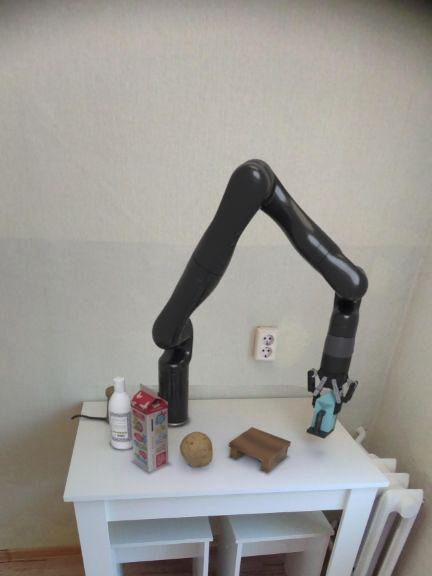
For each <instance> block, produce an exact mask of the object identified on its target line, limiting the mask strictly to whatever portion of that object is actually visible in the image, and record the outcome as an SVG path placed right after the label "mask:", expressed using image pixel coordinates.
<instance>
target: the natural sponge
mask: <svg viewBox="0 0 432 576" xmlns="http://www.w3.org/2000/svg"><path fill="white" fill-rule="evenodd" d="M213 449H214V448H213V444H212V440H211V438H210V437H209V435H207V434H206V433H203V432H202V431H201V432H200V431H193V432H190V433H188V434H187V435H185V436H184V437H183V438H182V440H181V442H180V444H179V452H180V454H181V456H182V458H183V460H184V461H185V462H186V463H187V464H188V465H189V466H191V467H193V468H200V467H203V466H208V465H210V464H211V463H212V461H213V457H214V452H213V451H214V450H213Z"/></svg>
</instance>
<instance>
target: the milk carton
mask: <svg viewBox="0 0 432 576" xmlns="http://www.w3.org/2000/svg"><path fill="white" fill-rule="evenodd" d="M139 385H140V386H139V388H140V389H139V390H138V391H137V392H136V393H135V394H134V395H133V396H132V397H130V398H131V399H130V403H131V421H132V440H133V447H132V456H133V463H134V464H135V465H138V466H139V467H140V468H142V469H143V470H144V471H146V472H147V473H151V472H153V471H155V470H157V469H160V468H162V467H164V466H167V465H168V464H169V426H168V402H167V401H166V400H164V399H162V398H160V397H158V391H156V390H154V389H152V388H150V387H148V386H147V385H144V384H142V383H140V384H139Z"/></svg>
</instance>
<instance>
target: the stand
mask: <svg viewBox="0 0 432 576" xmlns="http://www.w3.org/2000/svg"><path fill="white" fill-rule="evenodd" d="M290 447H291V441H290V440H288V439H285V438H283V437H280V436H277V435H274V434H273V433H269V432H266V431H263V430H261V429H258V428H256V427H253V426H251V427H250V428H248V429H247V430H245V431H244V432H243V433H241V434H240V435H238V436H237V437H235V438H233V439H232V440H231V441H229V442H228V448H230V451H229V458H231V459H233V460H237V459H239V458H240V457H242V456H243V455H247V456H250V457H252V458H255V459H256V460H259V461H261V469H260V471H261V472H263V473H265V474H269V472H270V471H271V470H273V469H274V468H275V467H276V466H278V465H279V464H280V463H281V462H283V461H284V460H285V459H286V458H287V457H288V451H289V448H290Z"/></svg>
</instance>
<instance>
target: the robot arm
mask: <svg viewBox="0 0 432 576" xmlns="http://www.w3.org/2000/svg"><path fill="white" fill-rule="evenodd" d="M259 211H260V212H262V213H264V214H265V215H267V216H268V217H269V218H270V219H271V220H272V221H273V222H274V223H275V224H276V225H277V226H278V228H279V229H280V230H281V231H282V232H283V234H284V236H285V238H286V239H287V240H288V241H289V243H290V245H291V246H292V248H294V250H295V251H296V253H297V254H299V256H300V257H301V258H302V259H303V260H304V261H305V263H307V264H308V265H309V266H310V267H311V268H312V269H313V270H314V271H315V272H316V273H318V274H319V275H320V276H321V277H322V278H323V279H324V280H325V282H326V283H327V284H328V286H330V288H331V289H332V290H333V291H334V296H333V306H332V309H331V310H332V311H331V315H330V317H329V322H328V328H327V333H326V336H325V338H324V342H323V343H324V344H323V348H322V353H321V359H320V364H319V368H318V369H316V368H315V367H313V368H311V369H309V370H308V371H307V376H306V377H307V392H309V393H311V394H312V401H311V406H312V408H313V409H314V408H315V403H316V399H318V398H319V397H321V396H322V394H321V393H322V391H323V390H324V388H325V389H330V390H334V395H335V396H336V401H337V402H336V403H335V407H334V412H333V415H336V414H338V415H339V413H341V411H342V406H343V403H344V404H347V403H348V402H350V401H351V400H352V398H353V395H354V394H355V392H356V389H357V387H358V385H359V381H358V380H353V379H350V377H349V371H350V367H351V363H352V358H353V354H354V352H355V344H356V337H357V331H358V327H359V322H360V310H361V309H360V308H361V304H362V300H363V298H364V297H365V295H367V294H366V293H367V291H368V290H369V279H368V276H367V273H366V271H365V270H364V269H363V267H361V266H360V265H356V264H355V263H353V261H352V260H351V259H349V258H348V257H347V256H346V255H345V254H344V252H343V251H342V249H341V247H340V246H339V245H338V244H337V243H336V241H334V240H333V239H332V237H330V236H329V235H328V234H327V233H326V232H325V231H324V230H323V229H322V228H321V227H320V226H319V224H317V223H316V222H315V220H313V218H311V217H310V216H309V215H308V214H307V212H305V210H303V208H302V207H301V206H300V205H299V204H298V203H297V201H296V200H295V199H294V198H293V197H292V195H291V194H290V193H289V191H288V190H287V189H286V188H285V186H284V185H283V183H282V182H281V180H280V179H279V177H278V176H277V174H276V173H275V172H274V170H273V168H272V167H271V166H270V164H268V163H267V162H266V161H264V160H262V159H259V158H252V159H248V160H246V161H244V162H243V163H241V164H239V165H238V166H237V167H236V168H235V169H234V170H233V172H232V173H231V174H230V177H229V179H228V182H227V184H226V187H225V190H224V192H223V195H222V197H221V200H220V201H219V205H218V207H217V210H216V212H215V214H214V216H213V218H212V220H211V222H209V225H208V226H207V228H206V229H205V231H204V232H203V234H202V236H201V238H200V239H199V240H198V242H197V244H196V245H195V248H194V250H193V251H192V253H191V256H190V257H189V259H188V261H187V263H186V265H185V267H184V270H183V271H182V274H181V275H180V277H179V279H178V281H177V283H176V285H175V287H174V289H173V291H172V293H171V295H170V297H169V298H168V300H167V302H166V304H165V305H164V307H163V308H162V309H161V311H160V313H159V314H158V315H157V316H156V319H155V320H154V322H153V324H152V328H151V337H152V338H151V339H152V341H153V343H154V345H155V346H156V347H157V348H158V349H160V350H163V352H162V354H160V356H159V358H158V361H157V381H158V390H157V392H158V397H160V398H162V399H164V400H166V401H167V402H168V427H174V428H175V427H181V426H185V425H186V424H187V423H188V422H189V393H190V392H189V391H190V390H189V389H190V387H189V386H190V385H189V384H190V363H191V361H192V358H193V349H194V325H193V322H192V320H191V316H192V315H193V314H194V312H195V311H196V310H197V309H198V308H199V307H200V306H201V305H202V304H203V303H204V302H205V301H206V300H207V299H208V298H209V297H210V296H211V294H213V293H214V291H215V290H216V288H218V285H219V284H220V282H221V280H223V279H222V278H223V277H224V275H225V274H226V272H227V270H228V268H229V265H230V263H231V262H232V258H233V256H234V253H235V250H236V247H237V245H238V242H239V240H240V238H241V236H242V234H243V233H244V231H245V230H246V228H247V227H248V226H249V224H250V222H251V221H252V220H253V218H254V217H255V216H256V214H258V212H259ZM317 377H318V379H319V383H318V384H317V386H316V378H317ZM345 384H346V387H347V391H346V393H345V394H344V391H345V389H344V385H345ZM76 418H85V419H87V420H100V421H107V417H100V416H89V415H86V414H74V415H73V416H71V418H70V420H72V421H73V420H75V419H76Z"/></svg>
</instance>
